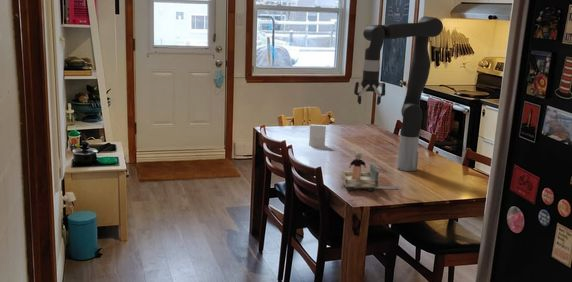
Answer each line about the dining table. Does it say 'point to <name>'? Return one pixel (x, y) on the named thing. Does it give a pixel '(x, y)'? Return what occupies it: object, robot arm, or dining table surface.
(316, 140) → the light grey upright block
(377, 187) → the strip
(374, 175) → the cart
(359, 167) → the grandmother figurine
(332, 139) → the dining table surface
